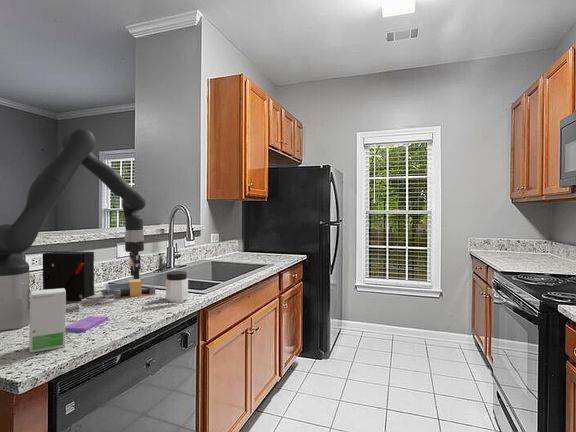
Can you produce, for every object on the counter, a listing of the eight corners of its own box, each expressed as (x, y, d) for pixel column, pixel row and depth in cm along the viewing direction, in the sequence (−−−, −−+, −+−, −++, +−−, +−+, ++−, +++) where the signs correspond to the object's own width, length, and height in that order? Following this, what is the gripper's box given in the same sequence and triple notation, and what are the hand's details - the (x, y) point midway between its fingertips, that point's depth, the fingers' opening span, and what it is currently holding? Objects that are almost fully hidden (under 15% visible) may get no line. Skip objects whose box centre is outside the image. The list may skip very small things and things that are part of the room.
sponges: (63, 333, 110) (63, 327, 110) (89, 320, 123) (89, 315, 123) (84, 333, 109) (84, 327, 109) (108, 321, 122) (108, 315, 122)
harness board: (152, 292, 162) (152, 284, 162) (156, 297, 153) (156, 288, 153) (112, 297, 153) (112, 288, 153) (115, 302, 145) (115, 293, 145)
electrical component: (97, 296, 154) (97, 251, 154) (81, 302, 144) (81, 254, 144) (60, 295, 156) (59, 250, 156) (41, 301, 146) (41, 253, 145)
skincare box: (29, 354, 93) (28, 295, 93) (29, 346, 98) (29, 290, 98) (66, 346, 98) (66, 291, 98) (65, 339, 103) (64, 286, 103)
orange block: (141, 295, 152) (141, 281, 152) (130, 296, 150) (130, 282, 150) (139, 292, 157) (139, 279, 157) (128, 293, 154) (128, 280, 154)
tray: (137, 294, 159) (137, 286, 159) (108, 297, 153) (108, 289, 153) (133, 289, 169) (133, 282, 169) (105, 292, 163) (105, 284, 163)
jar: (188, 298, 152) (188, 270, 152) (187, 302, 144) (187, 273, 144) (166, 299, 150) (166, 271, 150) (164, 304, 142) (164, 274, 142)
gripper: (123, 239, 157) (123, 275, 157) (127, 242, 145) (127, 281, 145) (141, 238, 161) (141, 273, 161) (146, 241, 149) (147, 279, 149)
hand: (134, 277), depth 153 cm, fingers open, 8 cm apart
